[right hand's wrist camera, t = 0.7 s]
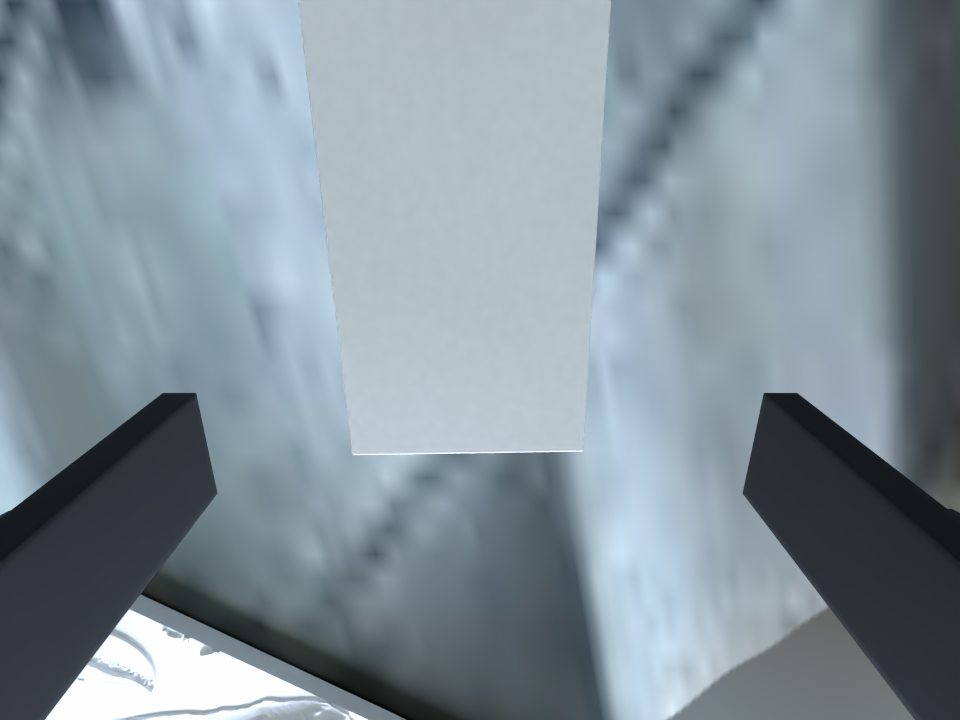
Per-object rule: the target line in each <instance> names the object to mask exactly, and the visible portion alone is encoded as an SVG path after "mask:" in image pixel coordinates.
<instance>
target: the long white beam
mask: <svg viewBox="0 0 960 720" xmlns="http://www.w3.org/2000/svg"><path fill="white" fill-rule="evenodd" d="M298 5H299V13H300V22H301V30H302V38H303V47H304V55H305V63H306V72H307V80H308V89H309V97H310V105H311V114H312V122H313V130H314V139H315V147H316V156H317V164H318V172H319V181H320V189H321V198H322V206H323V214H324V223H325V231H326V239H327V248H328V256H329V265H330V273H331V281H332V290H333V298H334V306H335V315H336V323H337V332H338V340H339V348H340V357H341V365H342V374H343V382H344V390H345V399H346V407H347V415H348V424H349V432H350V441H351V449H352V454H353V455H377V454H440V453H503V452H566V451H583V446H584V430H585V414H586V398H587V382H588V365H589V349H590V333H591V317H592V300H593V284H594V268H595V252H596V236H597V219H598V203H599V187H600V171H601V154H602V138H603V122H604V106H605V89H606V73H607V57H608V41H609V25H610V8H611V0H298Z"/></svg>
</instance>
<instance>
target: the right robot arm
mask: <svg viewBox="0 0 960 720" xmlns="http://www.w3.org/2000/svg"><path fill="white" fill-rule="evenodd" d="M216 494H217V490H216V485H215V480H214V476H213V471H212V466H211V461H210V457H209V452H208V447H207V442H206V438H205V433H204V428H203V424H202V419H201V414H200V409H199V405H198V400H197V395H196V393H162V394H161V395H160V396H159V397H157V398H156V399H155V400H153V401H152V402H151V403H149V404H148V405H147V406H146V407H144V408H143V409H142V410H140V411H139V412H138V413H137V414H135V415H134V416H133V417H131V418H130V419H129V420H127V421H126V422H125V423H124V424H122V425H121V426H120V427H118V428H117V429H116V430H115V431H113V432H112V433H111V434H109V435H108V436H107V437H105V438H104V439H103V440H102V441H100V442H99V443H98V444H96V445H95V446H94V447H93V448H91V449H90V450H89V451H87V452H86V453H85V454H83V455H82V456H81V457H80V458H78V459H77V460H76V461H74V462H73V463H72V464H71V465H69V466H68V467H67V468H65V469H64V470H63V471H61V472H60V473H59V474H58V475H56V476H55V477H54V478H52V479H51V480H50V481H49V482H47V483H46V484H45V485H43V486H42V487H41V488H39V489H38V490H37V491H36V492H34V493H33V494H32V495H30V496H29V497H28V498H27V499H25V500H24V501H23V502H21V503H20V504H19V505H17V506H16V507H15V508H14V509H12V510H11V511H8V512H6V513H4V514H2V515H0V720H45V719H46V718H47V717H48V715H49V714H50V713H51V711H52V710H53V709H54V707H55V706H56V705H57V703H58V702H59V701H60V699H61V698H62V697H63V695H64V694H65V693H66V692H67V690H68V689H69V688H70V686H71V685H72V684H73V682H74V681H75V680H76V678H77V677H78V676H79V674H80V673H81V672H82V671H83V669H84V668H85V667H86V665H87V664H88V663H89V661H90V660H91V659H92V657H93V656H94V655H95V653H96V652H97V651H98V649H99V648H100V647H101V646H102V644H103V643H104V642H105V640H106V639H107V638H108V636H109V635H110V634H111V632H112V631H113V630H114V628H115V627H116V626H117V625H118V623H119V622H120V621H121V619H122V618H123V617H124V615H125V614H126V613H127V611H128V610H129V609H130V607H131V606H132V605H133V604H134V602H135V601H136V600H137V598H138V597H139V596H140V594H141V593H142V592H143V590H144V589H145V588H146V586H147V585H148V584H149V582H150V581H151V580H152V579H153V577H154V576H155V575H156V573H157V572H158V571H159V569H160V568H161V567H162V565H163V564H164V563H165V561H166V560H167V559H168V558H169V556H170V555H171V554H172V552H173V551H174V550H175V548H176V547H177V546H178V544H179V543H180V542H181V540H182V539H183V538H184V536H185V535H186V534H187V533H188V531H189V530H190V529H191V527H192V526H193V525H194V523H195V522H196V521H197V519H198V518H199V517H200V515H201V514H202V513H203V512H204V510H205V509H206V508H207V506H208V505H209V504H210V502H211V501H212V500H213V498H214V497H215V496H216ZM743 494H744V496H745V497H746V498H747V500H748V501H749V502H750V504H751V505H752V506H753V508H754V509H755V510H756V512H757V513H758V514H759V515H760V517H761V518H762V519H763V521H764V522H765V523H766V525H767V526H768V527H769V529H770V530H771V531H772V533H773V534H774V535H775V536H776V538H777V539H778V540H779V542H780V543H781V544H782V546H783V547H784V548H785V550H786V551H787V552H788V554H789V555H790V556H791V558H792V559H793V560H794V561H795V563H796V564H797V565H798V567H799V568H800V569H801V571H802V572H803V573H804V575H805V576H806V577H807V579H808V580H809V581H810V582H811V584H812V585H813V586H814V588H815V589H816V590H817V592H818V593H819V594H820V596H821V597H822V598H823V600H824V601H825V602H826V604H827V605H828V606H829V607H830V609H831V610H832V611H833V613H834V614H835V615H836V617H837V618H838V619H839V620H840V622H841V623H842V625H843V626H844V627H845V628H846V630H847V631H848V632H849V634H850V635H851V636H852V638H853V639H854V640H855V642H856V643H857V644H858V646H859V647H860V648H861V649H862V651H863V652H864V653H865V655H866V656H867V657H868V659H869V660H870V661H871V663H872V664H873V665H874V667H875V668H876V669H877V671H878V672H879V673H880V674H881V676H882V677H883V678H884V680H885V681H886V682H887V684H888V685H889V686H890V688H891V689H892V690H893V692H894V693H895V694H896V695H897V697H898V698H899V699H900V701H901V702H902V703H903V705H904V706H905V707H906V709H907V710H908V711H909V713H910V714H911V715H912V717H913V718H914V719H915V720H960V513H959V512H957V511H955V510H953V509H946V508H945V507H944V506H943V505H941V504H940V503H939V502H937V501H936V500H935V499H933V498H932V497H931V496H930V495H928V494H927V493H926V492H924V491H923V490H922V489H921V488H919V487H918V486H917V485H915V484H914V483H913V482H911V481H910V480H909V479H908V478H906V477H905V476H904V475H902V474H901V473H900V472H899V471H897V470H896V469H895V468H893V467H892V466H891V465H889V464H888V463H887V462H886V461H884V460H883V459H882V458H880V457H879V456H878V455H877V454H875V453H874V452H873V451H871V450H870V449H869V448H867V447H866V446H865V445H864V444H862V443H861V442H860V441H858V440H857V439H856V438H855V437H853V436H852V435H851V434H849V433H848V432H847V431H845V430H844V429H843V428H842V427H840V426H839V425H838V424H836V423H835V422H834V421H833V420H831V419H830V418H829V417H827V416H826V415H825V414H823V413H822V412H821V411H820V410H818V409H817V408H816V407H814V406H813V405H812V404H811V403H809V402H808V401H807V400H805V399H804V398H803V397H801V396H800V395H799V394H798V393H764V395H763V400H762V405H761V409H760V414H759V419H758V424H757V428H756V433H755V438H754V442H753V447H752V452H751V457H750V461H749V466H748V471H747V476H746V480H745V485H744V490H743Z"/></svg>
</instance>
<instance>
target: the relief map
mask: <svg viewBox="0 0 960 720" xmlns="http://www.w3.org/2000/svg"><path fill="white" fill-rule="evenodd" d="M45 720H406V719H404V718H402V717H400V716H398V715H395V714H393V713H391V712H389V711H387V710H385V709H383V708H381V707H378V706H376V705H374V704H372V703H370V702H368V701H366V700H364V699H361V698H359V697H357V696H355V695H353V694H351V693H349V692H347V691H344V690H342V689H340V688H338V687H336V686H334V685H332V684H330V683H328V682H325V681H323V680H321V679H319V678H317V677H315V676H313V675H311V674H308V673H306V672H304V671H302V670H300V669H298V668H296V667H294V666H291V665H289V664H287V663H285V662H283V661H281V660H279V659H277V658H274V657H272V656H270V655H268V654H266V653H264V652H262V651H260V650H257V649H255V648H253V647H251V646H249V645H247V644H245V643H243V642H240V641H238V640H236V639H234V638H232V637H230V636H228V635H226V634H224V633H221V632H219V631H217V630H215V629H213V628H211V627H209V626H207V625H204V624H202V623H200V622H198V621H196V620H194V619H192V618H190V617H187V616H185V615H183V614H181V613H179V612H177V611H175V610H173V609H170V608H168V607H166V606H164V605H162V604H160V603H158V602H156V601H153V600H151V599H149V598H147V597H145V596H143V595H141V594H140V596H139V597H138V598H137V600H136V601H135V602H134V604H133V605H132V606H131V607H130V609H129V610H128V611H127V613H126V614H125V615H124V617H123V618H122V619H121V621H120V622H119V623H118V625H117V626H116V627H115V628H114V630H113V631H112V632H111V634H110V635H109V636H108V638H107V639H106V640H105V642H104V643H103V644H102V646H101V647H100V648H99V649H98V651H97V652H96V653H95V655H94V656H93V657H92V659H91V660H90V661H89V663H88V664H87V665H86V667H85V668H84V669H83V671H82V672H81V673H80V674H79V676H78V677H77V678H76V680H75V681H74V682H73V684H72V685H71V686H70V688H69V689H68V690H67V692H66V693H65V694H64V695H63V697H62V698H61V699H60V701H59V702H58V703H57V705H56V706H55V707H54V709H53V710H52V711H51V713H50V714H49V715H48V717H47V718H46V719H45Z"/></svg>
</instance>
